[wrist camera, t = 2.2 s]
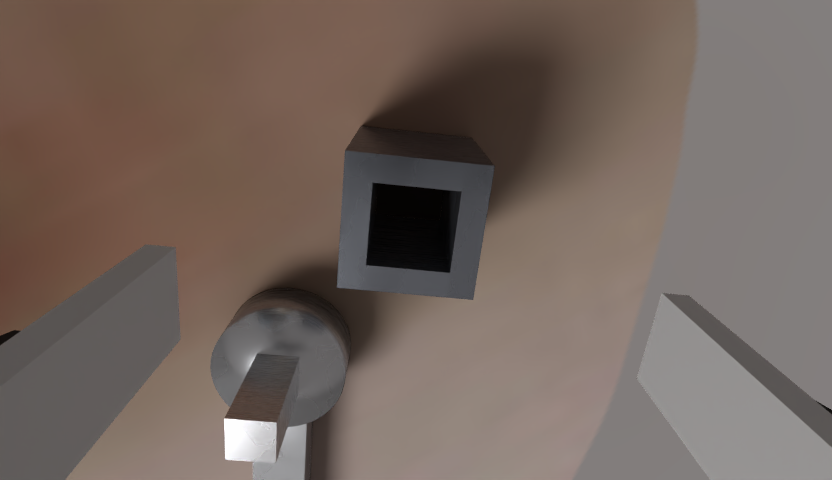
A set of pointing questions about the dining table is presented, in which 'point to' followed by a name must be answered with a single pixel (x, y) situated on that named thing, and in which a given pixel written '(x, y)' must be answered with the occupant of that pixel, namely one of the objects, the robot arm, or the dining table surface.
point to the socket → (406, 236)
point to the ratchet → (279, 378)
